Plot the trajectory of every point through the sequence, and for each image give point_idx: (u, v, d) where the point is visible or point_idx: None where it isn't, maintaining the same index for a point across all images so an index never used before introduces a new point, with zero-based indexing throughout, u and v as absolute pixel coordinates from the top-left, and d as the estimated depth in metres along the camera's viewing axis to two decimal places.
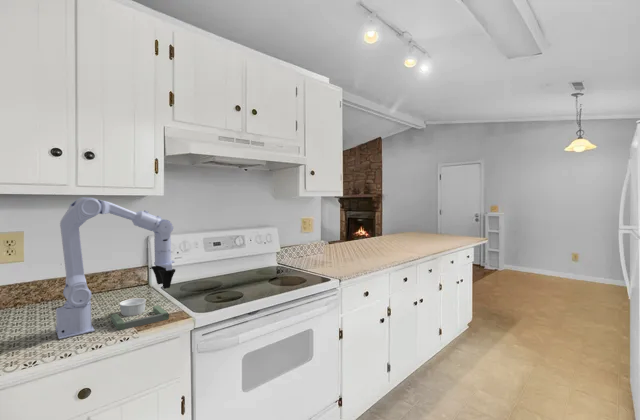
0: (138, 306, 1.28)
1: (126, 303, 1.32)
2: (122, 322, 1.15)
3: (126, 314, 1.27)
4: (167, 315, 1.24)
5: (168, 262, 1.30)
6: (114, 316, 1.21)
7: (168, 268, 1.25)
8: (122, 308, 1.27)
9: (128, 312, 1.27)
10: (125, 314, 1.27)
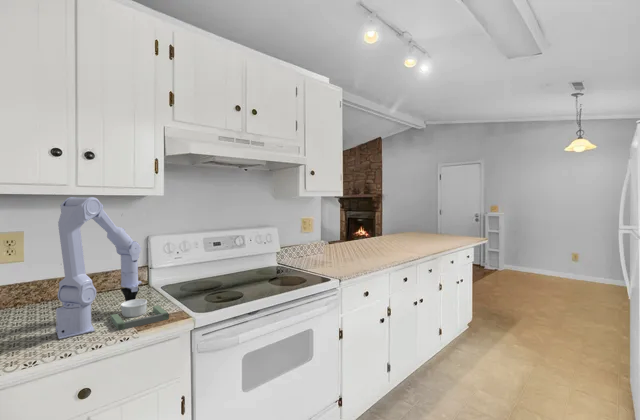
0: (139, 307, 1.27)
1: (127, 304, 1.31)
2: (122, 322, 1.15)
3: (127, 315, 1.25)
4: (167, 315, 1.24)
5: (134, 283, 1.32)
6: (114, 316, 1.21)
7: (133, 290, 1.28)
8: (123, 309, 1.25)
9: (129, 313, 1.25)
10: (126, 315, 1.25)
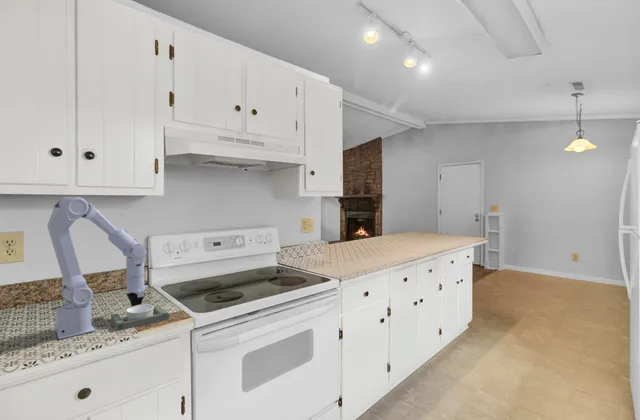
0: (146, 313, 1.20)
1: (133, 309, 1.24)
2: (122, 322, 1.15)
3: None
4: (167, 315, 1.24)
5: (141, 288, 1.25)
6: (114, 316, 1.21)
7: (140, 295, 1.21)
8: (129, 315, 1.19)
9: None
10: None
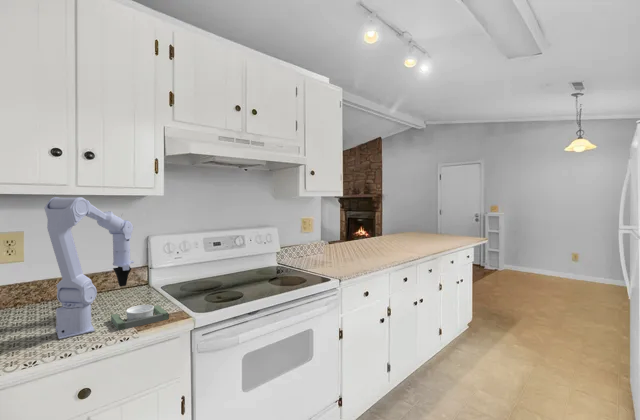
0: (146, 313, 1.20)
1: (133, 310, 1.24)
2: (122, 322, 1.15)
3: None
4: (167, 315, 1.24)
5: (126, 262, 1.32)
6: (114, 316, 1.21)
7: (125, 268, 1.27)
8: (129, 316, 1.19)
9: None
10: None
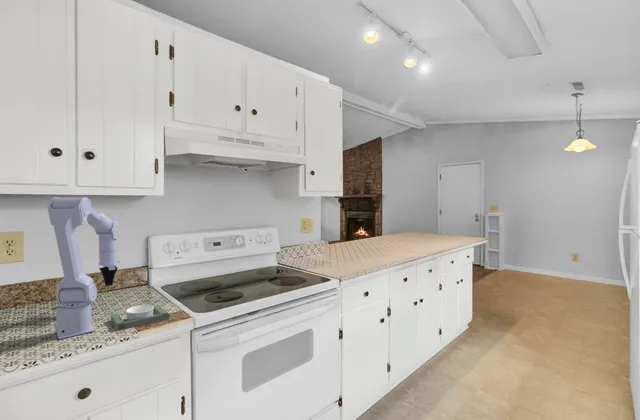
0: (146, 313, 1.20)
1: (133, 310, 1.24)
2: (122, 322, 1.15)
3: None
4: (167, 315, 1.24)
5: (113, 262, 1.32)
6: (114, 316, 1.21)
7: (111, 268, 1.28)
8: (129, 316, 1.19)
9: None
10: None
